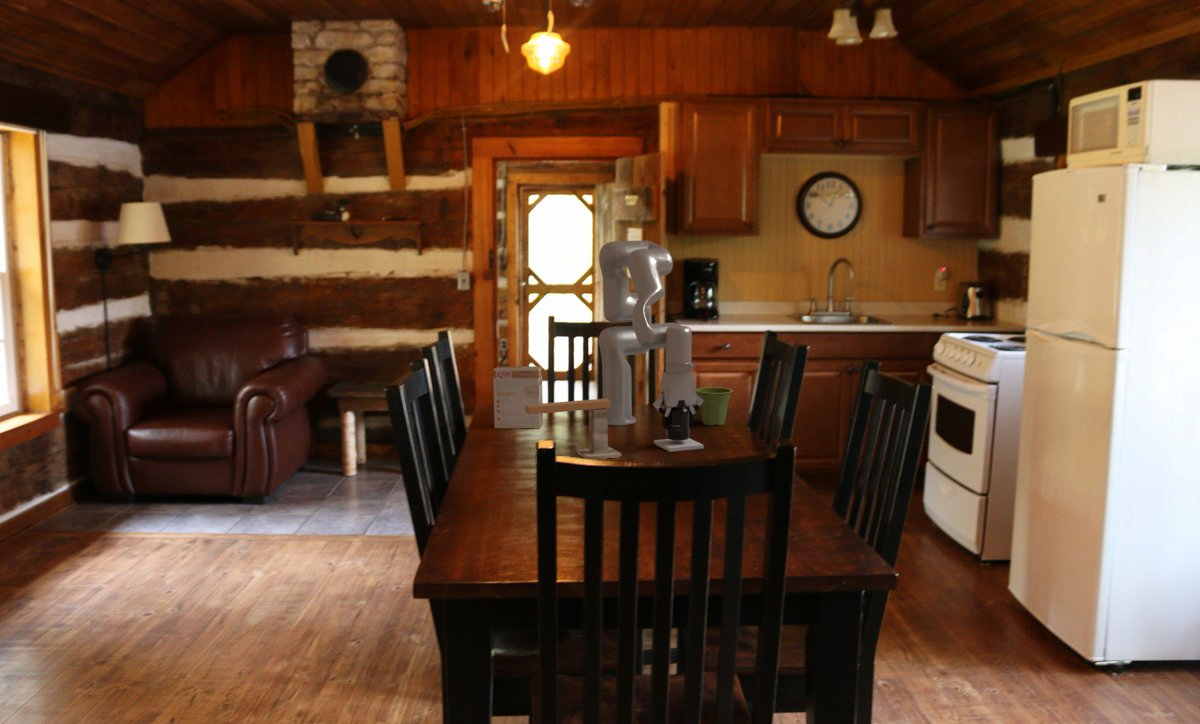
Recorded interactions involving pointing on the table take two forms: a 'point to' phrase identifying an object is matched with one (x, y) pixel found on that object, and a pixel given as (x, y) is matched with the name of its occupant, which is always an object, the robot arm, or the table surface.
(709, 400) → the plant pot
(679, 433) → the supplement bottle
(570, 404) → the strap bar
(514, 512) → the table surface
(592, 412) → the stand
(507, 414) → the coffeecake box
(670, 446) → the grey mat
